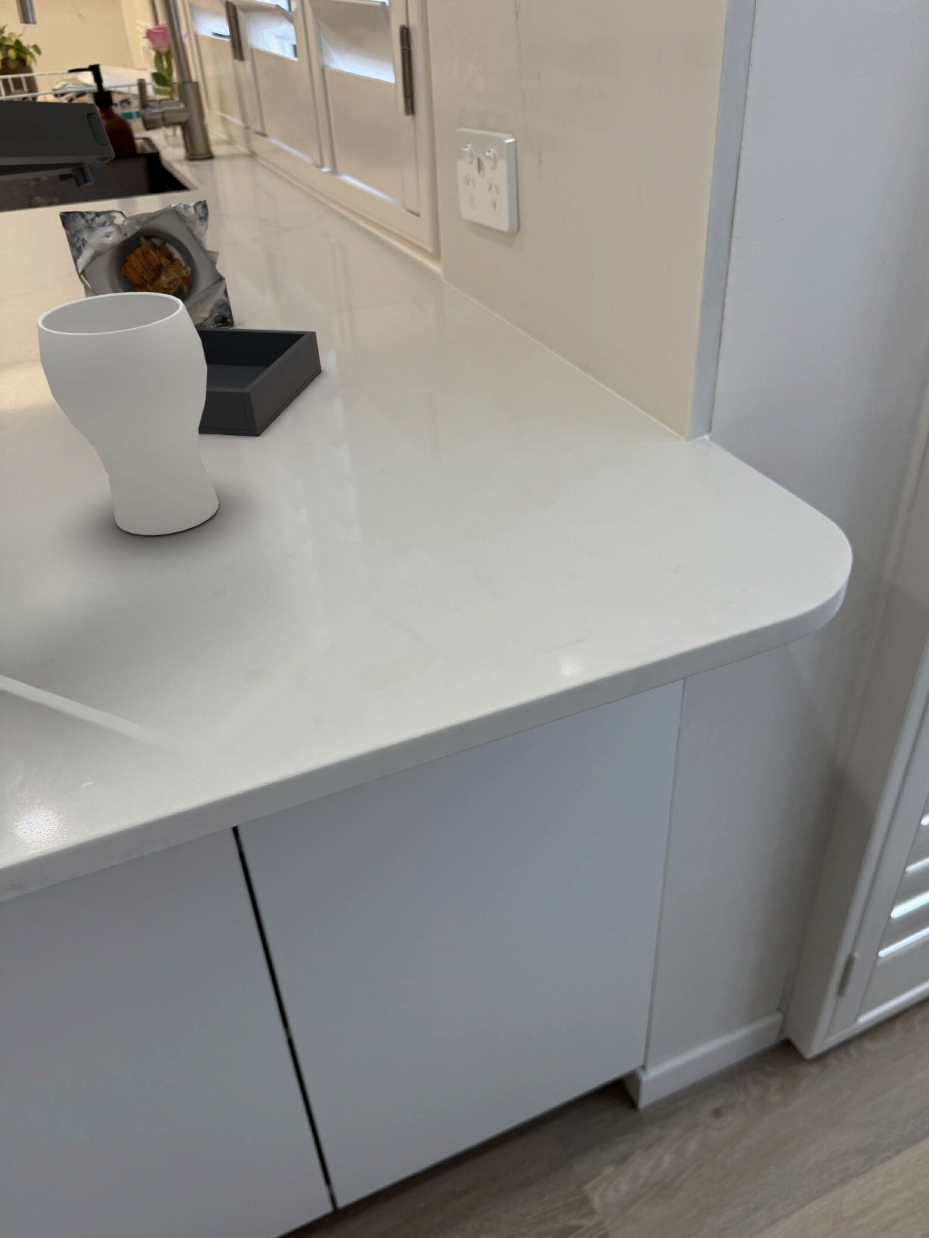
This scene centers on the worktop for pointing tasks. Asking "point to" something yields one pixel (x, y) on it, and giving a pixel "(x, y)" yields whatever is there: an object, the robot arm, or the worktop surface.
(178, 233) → the meal
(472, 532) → the worktop surface
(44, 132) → the robot arm
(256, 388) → the tray
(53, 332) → the cup
